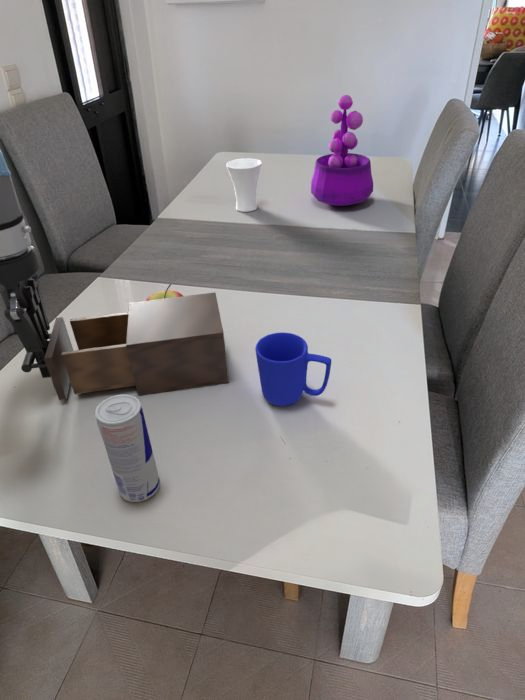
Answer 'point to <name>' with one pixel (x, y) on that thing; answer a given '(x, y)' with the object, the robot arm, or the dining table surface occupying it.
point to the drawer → (87, 355)
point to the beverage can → (128, 447)
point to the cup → (245, 182)
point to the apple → (164, 295)
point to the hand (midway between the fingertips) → (51, 374)
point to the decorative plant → (343, 163)
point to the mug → (286, 368)
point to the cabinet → (176, 343)
